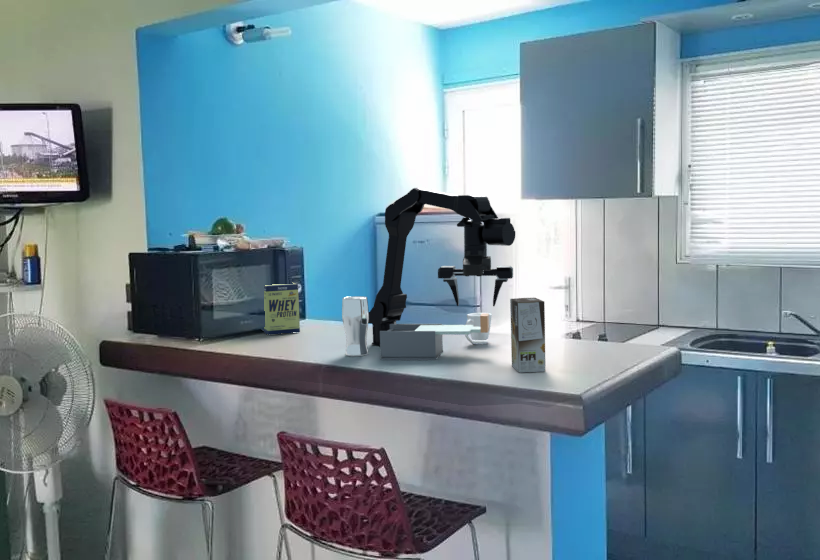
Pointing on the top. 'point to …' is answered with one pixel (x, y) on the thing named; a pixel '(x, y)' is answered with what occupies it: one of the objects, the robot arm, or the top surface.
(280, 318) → the protein box
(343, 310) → the beer glass
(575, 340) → the top surface
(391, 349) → the tub
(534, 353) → the coffee box
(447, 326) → the lid
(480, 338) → the cup
